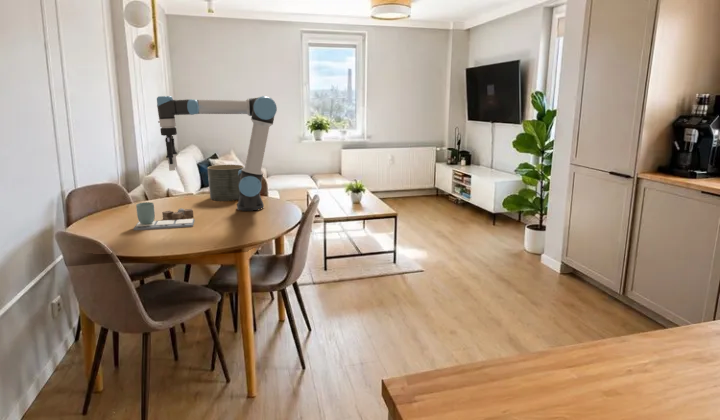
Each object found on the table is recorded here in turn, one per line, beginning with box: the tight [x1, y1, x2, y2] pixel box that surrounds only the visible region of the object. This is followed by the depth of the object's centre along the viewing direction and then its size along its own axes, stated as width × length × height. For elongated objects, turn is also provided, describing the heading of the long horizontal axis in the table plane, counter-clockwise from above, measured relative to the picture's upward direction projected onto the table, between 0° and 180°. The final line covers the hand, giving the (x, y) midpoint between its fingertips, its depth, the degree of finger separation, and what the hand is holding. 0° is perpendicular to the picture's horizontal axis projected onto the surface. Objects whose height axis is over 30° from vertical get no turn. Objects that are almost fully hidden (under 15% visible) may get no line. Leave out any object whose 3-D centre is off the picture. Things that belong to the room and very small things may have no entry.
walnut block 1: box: [161, 210, 175, 221], centre depth 241 cm, size 4×4×4 cm
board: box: [133, 218, 195, 231], centre depth 229 cm, size 27×12×1 cm, turn 106°
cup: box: [135, 201, 156, 224], centre depth 226 cm, size 8×8×10 cm
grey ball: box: [177, 208, 185, 216], centre depth 248 cm, size 4×4×4 cm
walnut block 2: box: [171, 211, 184, 220], centre depth 238 cm, size 4×4×4 cm
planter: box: [207, 164, 245, 202], centre depth 291 cm, size 22×22×20 cm
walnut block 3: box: [183, 208, 194, 219], centre depth 245 cm, size 4×4×4 cm
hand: (173, 168), depth 237 cm, fingers open, 13 cm apart
